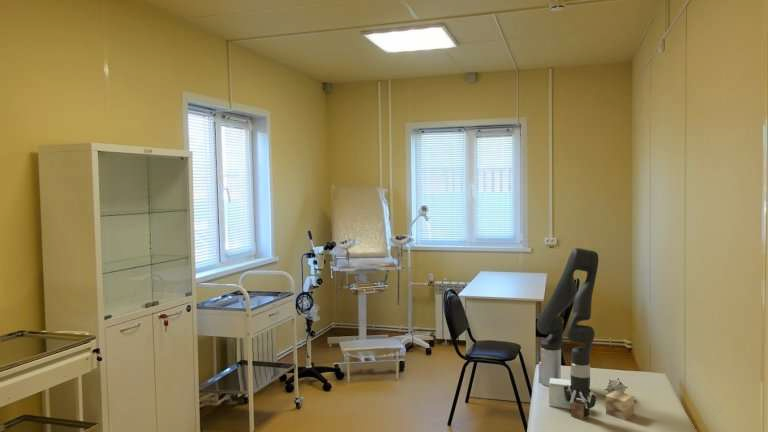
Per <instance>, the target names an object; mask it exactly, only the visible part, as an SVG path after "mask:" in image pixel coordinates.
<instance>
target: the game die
mask: <svg viewBox="0 0 768 432" xmlns="http://www.w3.org/2000/svg"><path fill="white" fill-rule="evenodd" d="M608 381H609V382H608V385H607V387H606V388H605V389H604V391H607V392H608V394H609V393H611V392H613V391H618V392H622V393H625V391H626V389H628V387H629V386H625V385H624V384H623V382H622V381H620V378H619V377H617V379H613V380H612V379H609V380H608Z"/></svg>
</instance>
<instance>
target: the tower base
mask: <svg viewBox="0 0 768 432" xmlns="http://www.w3.org/2000/svg"><path fill="white" fill-rule="evenodd" d="M605 414H606V415H607V416H611V417H614V418H617V419H621V420H623V421H626V420H628V419H629V418H631V417H632V416H633V415H635V405H634V406H632V407H630V408H629V409H627V410H625V411H623V410H619V409H616V408H613V407H610V406H607V405H605Z"/></svg>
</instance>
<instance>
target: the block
mask: <svg viewBox="0 0 768 432" xmlns="http://www.w3.org/2000/svg"><path fill="white" fill-rule="evenodd" d="M584 408H585V406H584V403H583V402H582V399H580V398H577V399H576V400H574V401H572V402H571V410H570V417H572V418H575V419H577V420H581V421H584V420H586V419H587V418H589V416H590V415H589V416H587V417H584Z"/></svg>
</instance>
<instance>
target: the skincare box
mask: <svg viewBox="0 0 768 432" xmlns="http://www.w3.org/2000/svg"><path fill="white" fill-rule="evenodd" d="M566 385H569V386H570V385H571V379H564V378H561V379H555V378H550V381H549V386H548V407H555V408H560V409H569V410H570V402H569V401H566V397H565V392H564V386H566ZM570 393H571V396H572V394H573V393H572V391H571V389H570Z"/></svg>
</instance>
